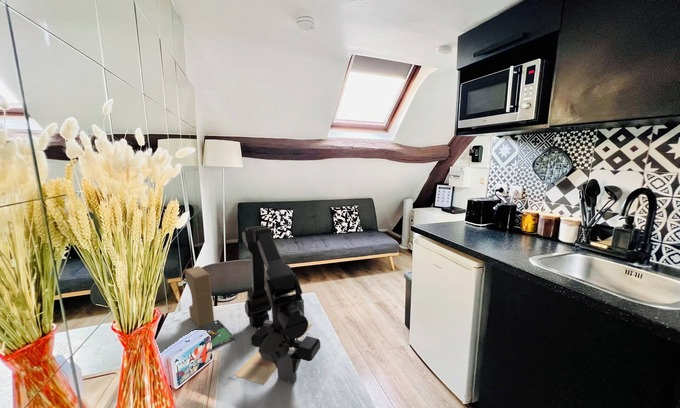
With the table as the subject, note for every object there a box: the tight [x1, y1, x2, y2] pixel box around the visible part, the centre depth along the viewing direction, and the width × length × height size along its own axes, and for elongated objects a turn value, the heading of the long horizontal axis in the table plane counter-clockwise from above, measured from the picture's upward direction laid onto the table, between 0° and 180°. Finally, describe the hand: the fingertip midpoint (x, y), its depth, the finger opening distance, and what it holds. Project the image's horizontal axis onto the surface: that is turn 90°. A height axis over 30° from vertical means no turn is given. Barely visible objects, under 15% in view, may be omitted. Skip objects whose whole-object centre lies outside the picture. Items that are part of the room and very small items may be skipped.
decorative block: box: [184, 265, 215, 329], centre depth 107 cm, size 11×6×20 cm, turn 43°
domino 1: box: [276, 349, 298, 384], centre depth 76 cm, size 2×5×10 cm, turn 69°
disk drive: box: [189, 319, 235, 351], centre depth 96 cm, size 10×3×15 cm
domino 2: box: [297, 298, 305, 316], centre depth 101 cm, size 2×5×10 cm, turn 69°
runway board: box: [234, 323, 313, 386], centre depth 90 cm, size 10×29×1 cm, turn 158°
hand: (286, 369), depth 77 cm, fingers closed on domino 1, 5 cm apart
